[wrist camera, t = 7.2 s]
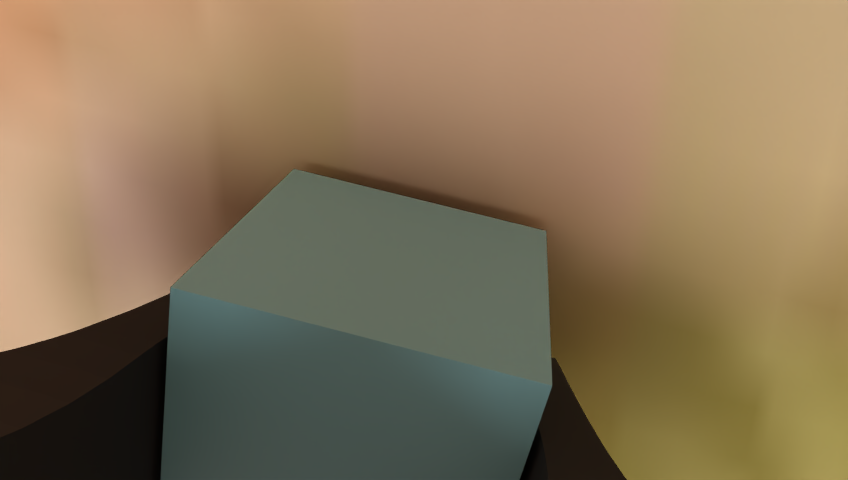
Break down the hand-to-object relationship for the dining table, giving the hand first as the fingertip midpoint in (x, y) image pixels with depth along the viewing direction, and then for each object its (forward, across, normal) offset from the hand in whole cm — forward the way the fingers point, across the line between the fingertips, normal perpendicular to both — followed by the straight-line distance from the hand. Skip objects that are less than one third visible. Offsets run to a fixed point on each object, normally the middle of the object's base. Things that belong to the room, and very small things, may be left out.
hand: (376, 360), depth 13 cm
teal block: (+2, 0, 0) cm, 2 cm away
